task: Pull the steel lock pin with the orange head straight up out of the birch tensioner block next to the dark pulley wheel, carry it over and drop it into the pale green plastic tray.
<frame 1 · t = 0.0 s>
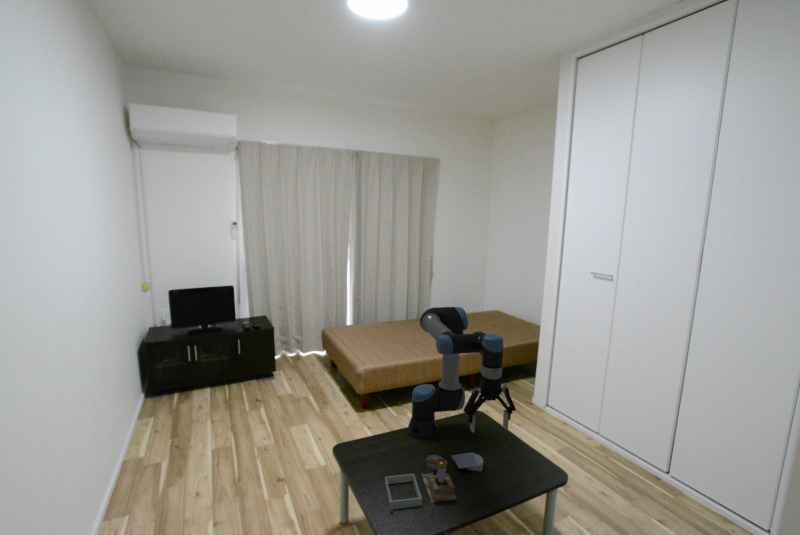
hand: (488, 429, 142), 28 cm above the table, fingers open, 13 cm apart
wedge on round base: (468, 467, 163), on the table
tray: (402, 496, 145), on the table
tensioner block: (441, 495, 145), on the table
lock pin: (441, 493, 145), point 1 cm above the table, touching tensioner block
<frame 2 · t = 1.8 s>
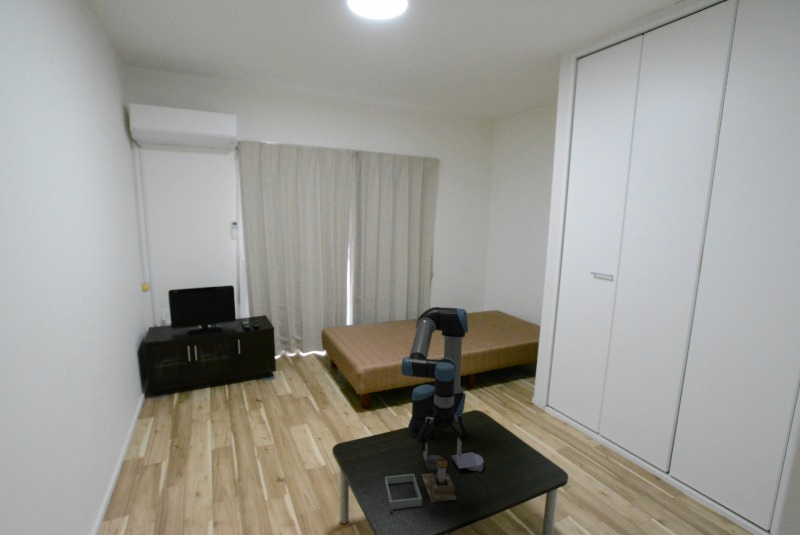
hand: (442, 456, 143), 16 cm above the table, fingers open, 13 cm apart
nothing on the table moved.
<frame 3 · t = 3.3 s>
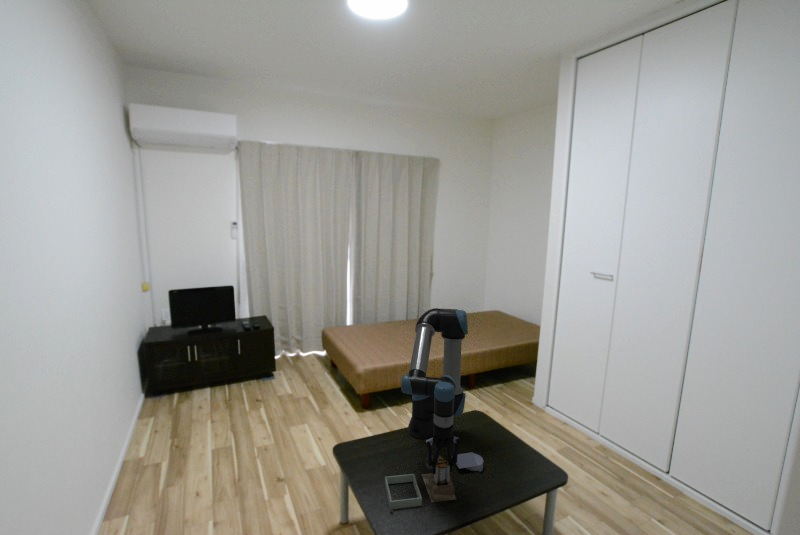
hand: (441, 479, 145), 7 cm above the table, fingers closed on lock pin, 4 cm apart
lock pin: (441, 493, 145), point 1 cm above the table, touching gripper, tensioner block
everything else where it was.
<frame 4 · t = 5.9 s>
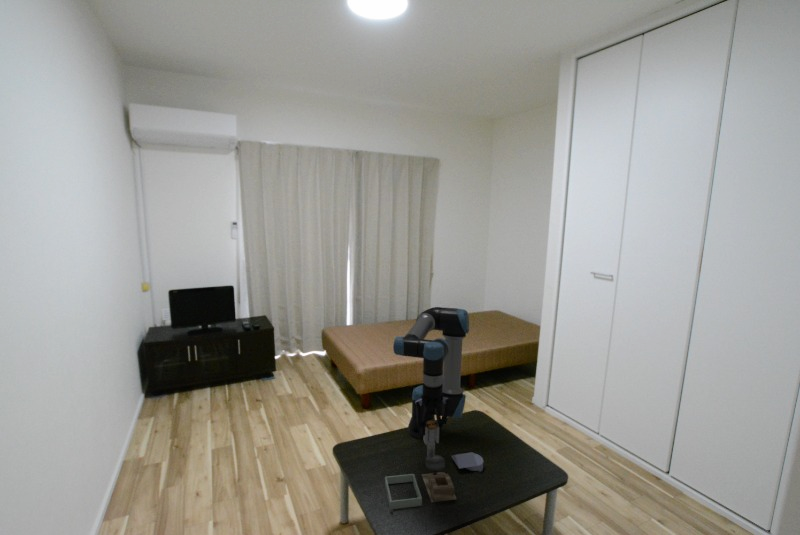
hand: (431, 441, 143), 23 cm above the table, fingers closed on lock pin, 4 cm apart
lock pin: (430, 455, 143), point 17 cm above the table, touching gripper
everything else where it was.
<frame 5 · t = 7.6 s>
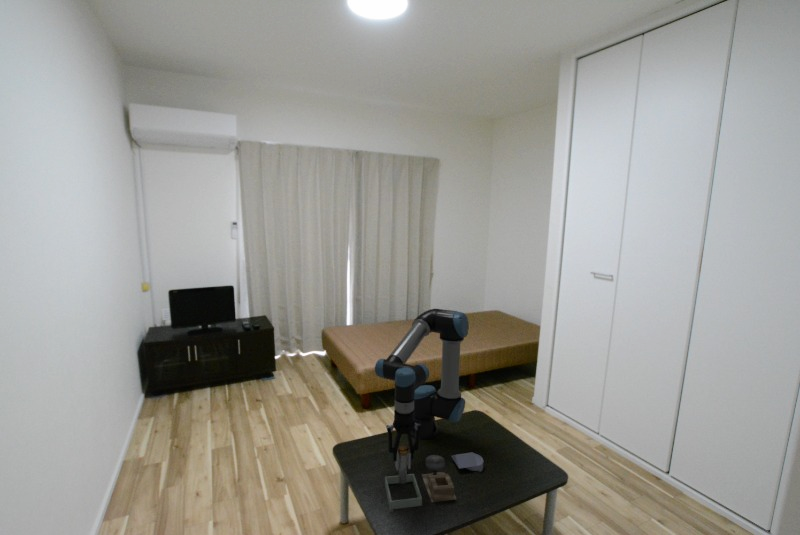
hand: (402, 467, 143), 12 cm above the table, fingers closed on lock pin, 4 cm apart
lock pin: (402, 481, 144), point 7 cm above the table, touching gripper
everything else where it was.
when the fingers open (8 cm above the table, at t = 8.7 s): lock pin drops 2 cm, resting on tray.
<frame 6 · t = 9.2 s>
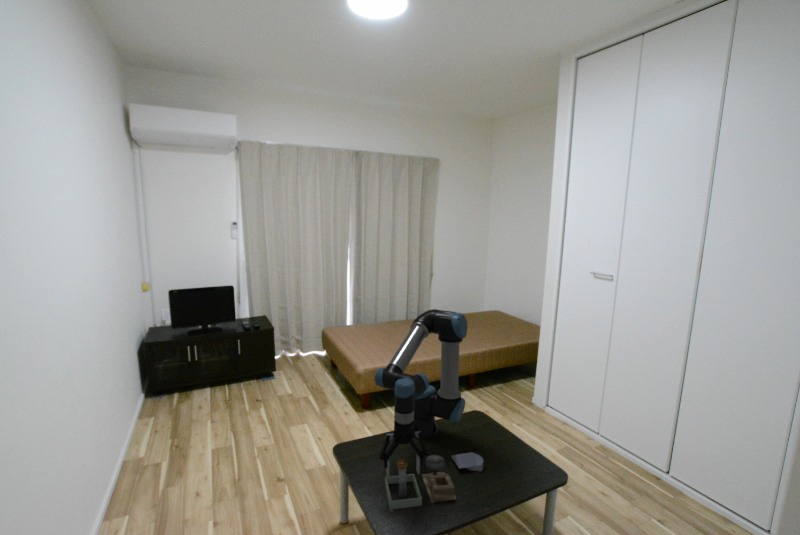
hand: (403, 473, 144), 10 cm above the table, fingers open, 11 cm apart
lock pin: (402, 494, 145), point 1 cm above the table, touching tray
everything else where it was.
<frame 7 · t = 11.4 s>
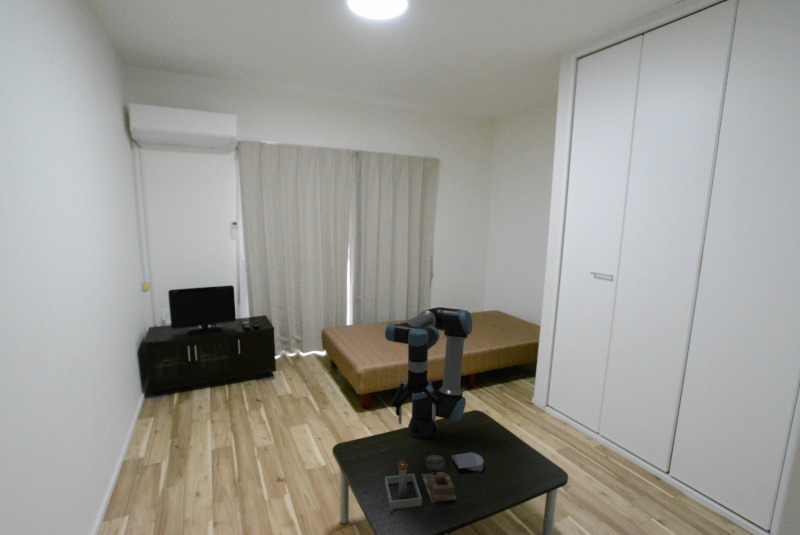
hand: (416, 421, 146), 29 cm above the table, fingers open, 13 cm apart
nothing on the table moved.
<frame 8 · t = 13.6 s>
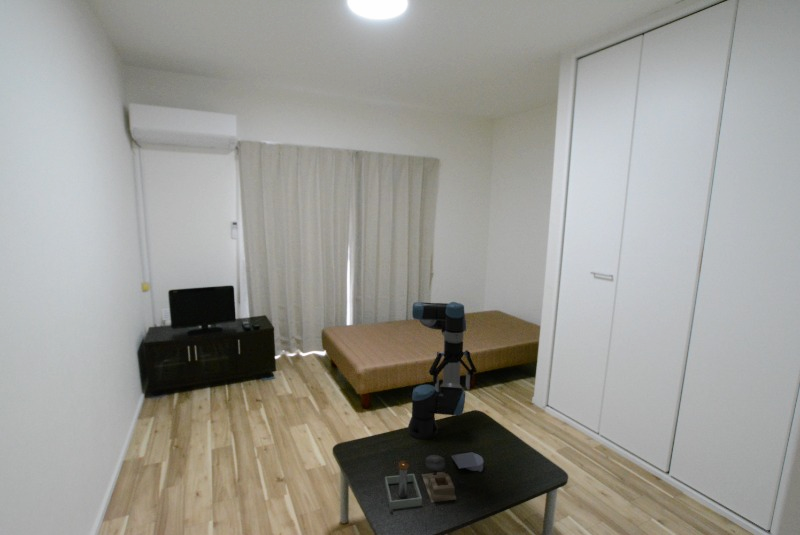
hand: (452, 389, 156), 37 cm above the table, fingers open, 13 cm apart
nothing on the table moved.
at the end: lock pin inside the target area on the tray (0.0 cm from its centre), point 0.9 cm above the tray's base; lock pin touching tray; the gripper is holding nothing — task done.
